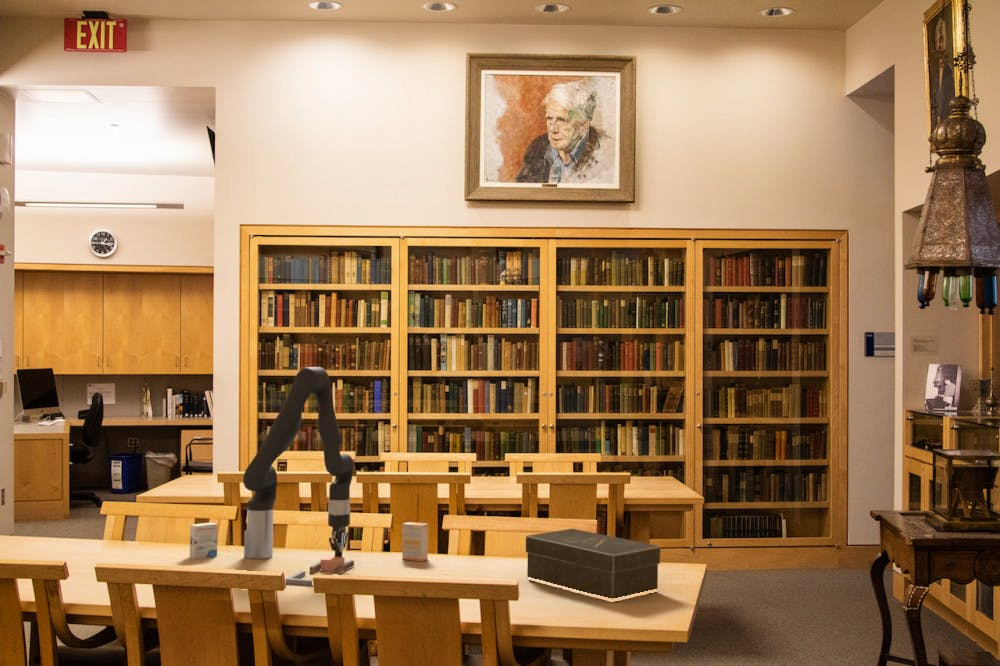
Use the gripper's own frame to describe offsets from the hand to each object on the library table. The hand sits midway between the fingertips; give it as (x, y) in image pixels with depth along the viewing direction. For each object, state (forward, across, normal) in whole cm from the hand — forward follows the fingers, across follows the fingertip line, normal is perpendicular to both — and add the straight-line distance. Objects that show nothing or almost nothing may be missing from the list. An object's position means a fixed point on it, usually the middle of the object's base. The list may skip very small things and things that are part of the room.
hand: (338, 561), depth 354 cm
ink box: (+2, -1, -52) cm, 52 cm away
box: (+2, +4, +89) cm, 89 cm away
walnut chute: (+2, +5, 0) cm, 6 cm away
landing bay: (+2, +22, 0) cm, 22 cm away
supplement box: (+2, -18, +22) cm, 29 cm away
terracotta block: (+2, +5, 0) cm, 5 cm away
